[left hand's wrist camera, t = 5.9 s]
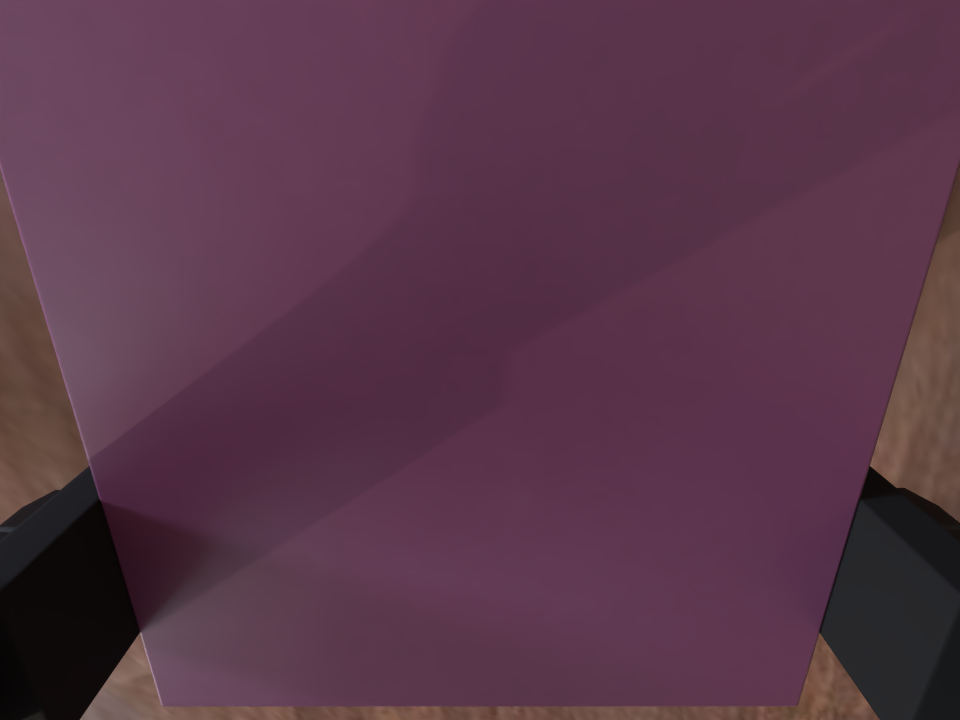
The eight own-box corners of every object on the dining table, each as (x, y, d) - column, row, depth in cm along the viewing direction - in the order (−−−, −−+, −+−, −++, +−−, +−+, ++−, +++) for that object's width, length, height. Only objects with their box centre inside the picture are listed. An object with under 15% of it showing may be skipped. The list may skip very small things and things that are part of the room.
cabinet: (237, -301, 13) (-621, -1872, 3) (722, -301, 13) (1580, -1872, 3) (322, 421, 20) (159, 708, 10) (637, 421, 20) (799, 708, 10)
